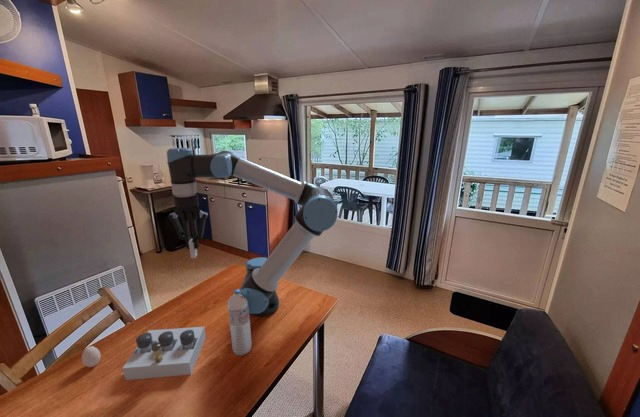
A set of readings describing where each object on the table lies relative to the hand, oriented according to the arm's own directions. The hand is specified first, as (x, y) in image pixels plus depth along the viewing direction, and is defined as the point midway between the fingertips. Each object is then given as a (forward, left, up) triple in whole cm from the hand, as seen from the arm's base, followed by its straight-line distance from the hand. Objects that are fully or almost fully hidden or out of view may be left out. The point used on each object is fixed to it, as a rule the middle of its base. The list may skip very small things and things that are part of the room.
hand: (194, 256), depth 95 cm
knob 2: (+1, +13, -31) cm, 33 cm away
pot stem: (+8, +19, -27) cm, 34 cm away
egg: (+32, +14, -33) cm, 48 cm away
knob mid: (+8, +13, -31) cm, 34 cm away
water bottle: (-17, +12, -33) cm, 39 cm away
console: (+8, +13, -32) cm, 36 cm away
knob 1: (+15, +13, -31) cm, 37 cm away
